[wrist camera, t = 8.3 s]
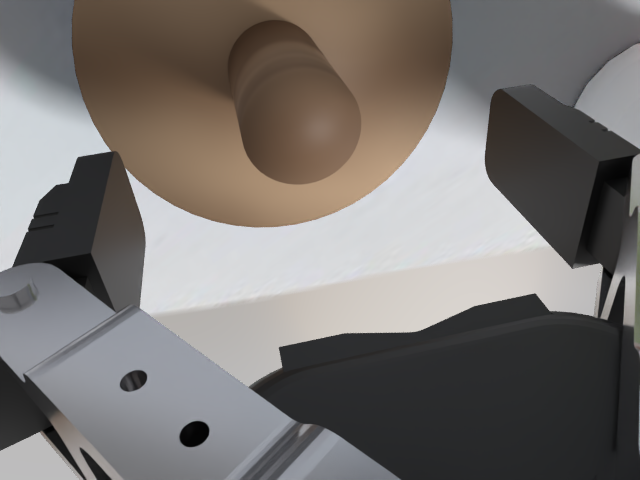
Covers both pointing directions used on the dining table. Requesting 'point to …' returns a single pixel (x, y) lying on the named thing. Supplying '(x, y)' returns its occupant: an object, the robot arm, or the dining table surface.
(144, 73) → the lid
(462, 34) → the dining table surface
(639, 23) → the dining table surface
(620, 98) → the bottle
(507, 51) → the dining table surface
